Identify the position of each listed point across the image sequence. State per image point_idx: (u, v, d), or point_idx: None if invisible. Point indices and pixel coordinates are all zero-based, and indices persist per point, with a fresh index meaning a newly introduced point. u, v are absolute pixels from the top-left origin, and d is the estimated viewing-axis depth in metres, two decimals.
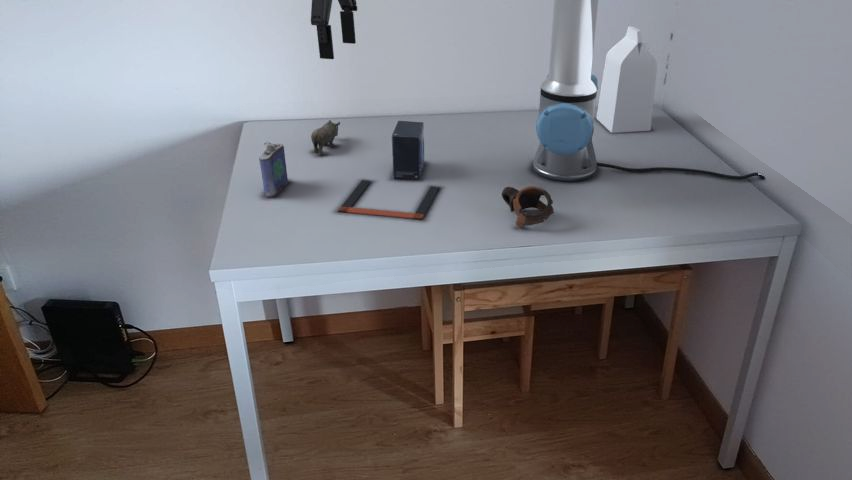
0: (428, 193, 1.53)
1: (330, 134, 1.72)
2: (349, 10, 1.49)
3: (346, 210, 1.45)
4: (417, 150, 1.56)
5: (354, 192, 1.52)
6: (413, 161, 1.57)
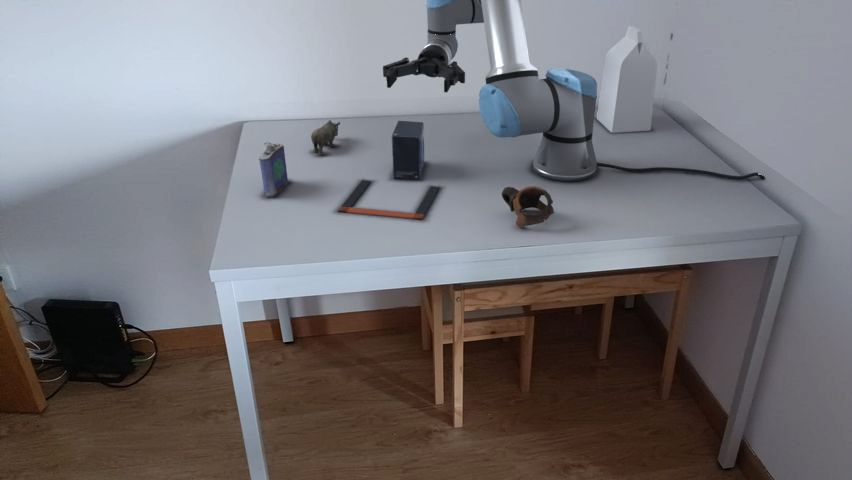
0: (428, 193, 1.53)
1: (330, 134, 1.72)
2: None
3: (346, 210, 1.45)
4: (417, 150, 1.56)
5: (354, 192, 1.52)
6: (413, 161, 1.57)
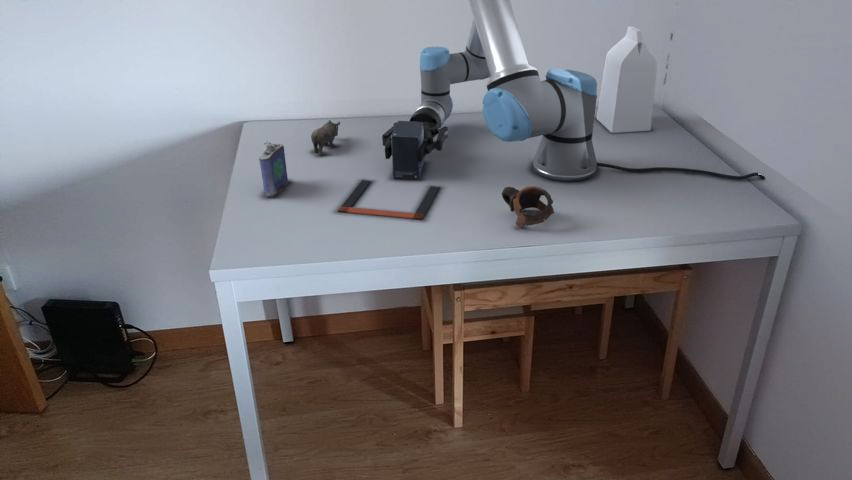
0: (428, 193, 1.53)
1: (330, 134, 1.72)
2: None
3: (346, 210, 1.45)
4: (416, 150, 1.56)
5: (354, 192, 1.52)
6: (412, 161, 1.57)
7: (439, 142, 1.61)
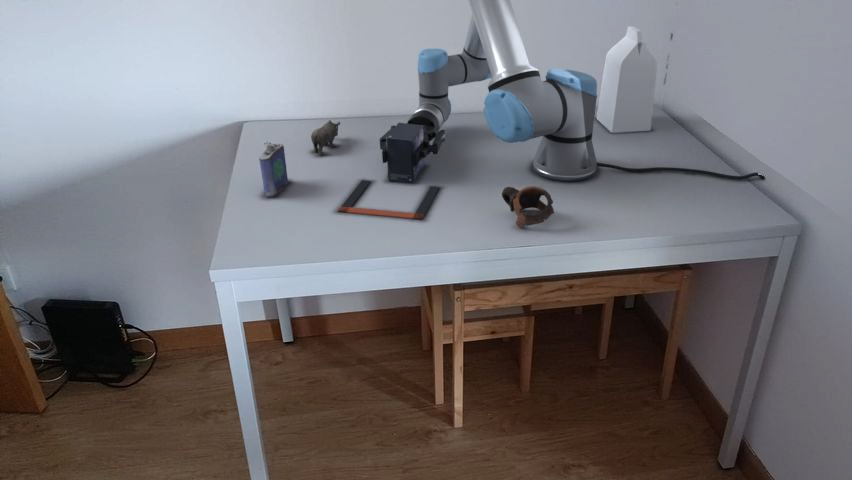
0: (428, 193, 1.53)
1: (330, 134, 1.72)
2: None
3: (346, 210, 1.45)
4: (411, 153, 1.54)
5: (354, 192, 1.52)
6: (407, 164, 1.55)
7: (435, 146, 1.59)
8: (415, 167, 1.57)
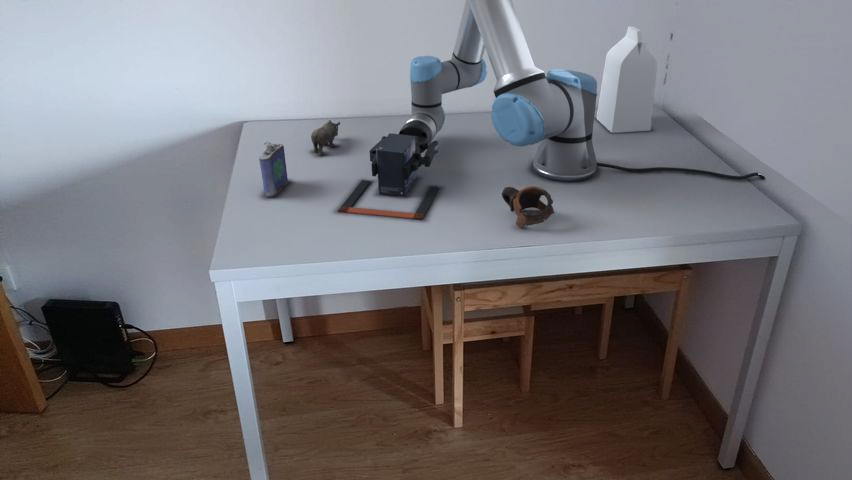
0: (428, 193, 1.53)
1: (330, 134, 1.72)
2: None
3: (346, 210, 1.45)
4: (402, 166, 1.48)
5: (354, 192, 1.52)
6: (398, 177, 1.49)
7: (427, 158, 1.53)
8: (406, 180, 1.51)
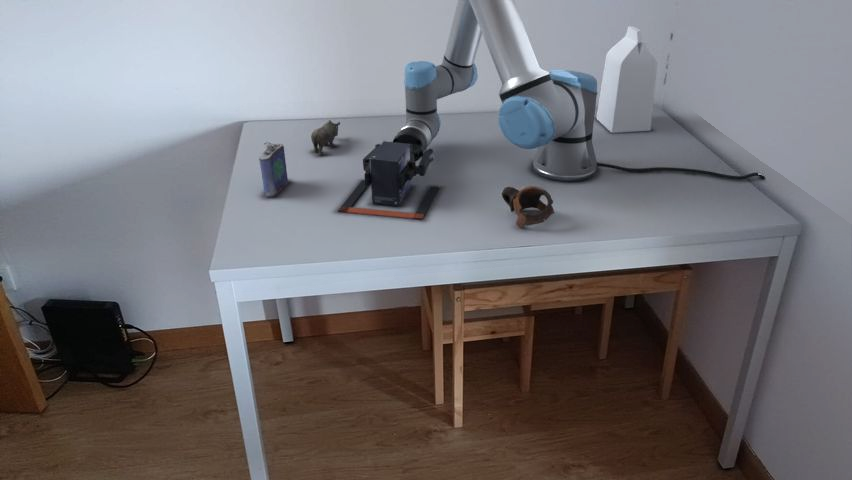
0: (428, 193, 1.53)
1: (330, 134, 1.72)
2: None
3: (346, 210, 1.45)
4: (396, 175, 1.44)
5: (354, 192, 1.52)
6: (392, 186, 1.45)
7: (422, 167, 1.49)
8: (401, 189, 1.47)
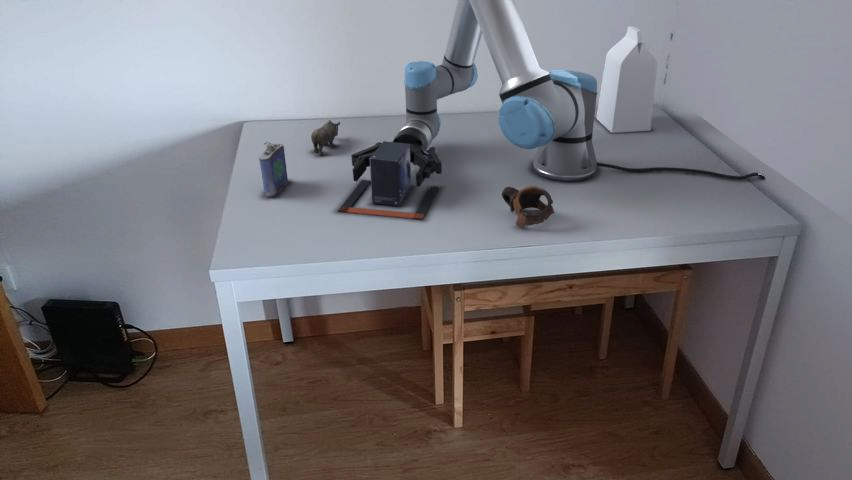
0: (428, 193, 1.53)
1: (330, 134, 1.72)
2: (427, 166, 1.50)
3: (346, 210, 1.45)
4: (396, 175, 1.44)
5: (354, 192, 1.52)
6: (392, 186, 1.45)
7: (440, 165, 1.50)
8: (401, 189, 1.47)
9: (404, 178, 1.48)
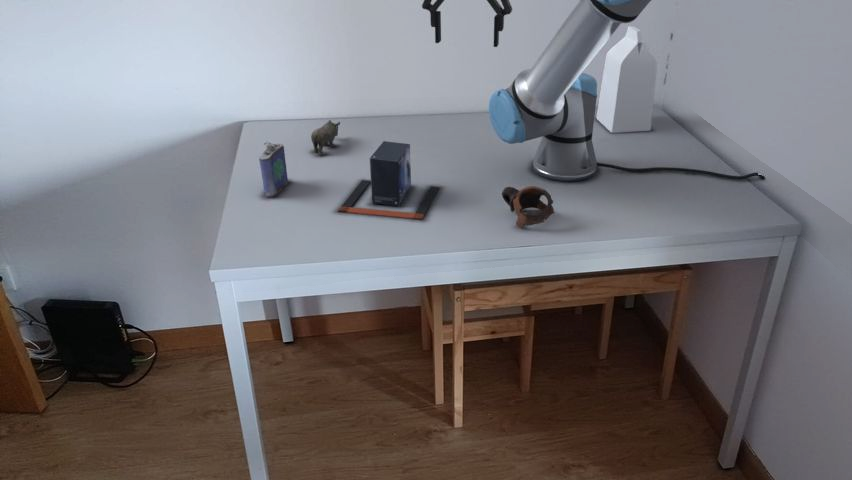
0: (428, 193, 1.53)
1: (330, 134, 1.72)
2: (498, 15, 1.55)
3: (346, 210, 1.45)
4: (396, 175, 1.44)
5: (354, 192, 1.52)
6: (392, 186, 1.45)
7: None
8: (401, 189, 1.47)
9: (404, 178, 1.48)
